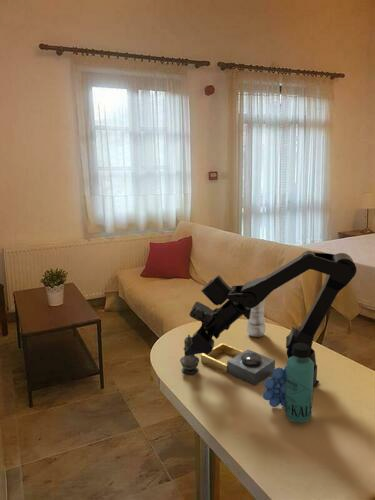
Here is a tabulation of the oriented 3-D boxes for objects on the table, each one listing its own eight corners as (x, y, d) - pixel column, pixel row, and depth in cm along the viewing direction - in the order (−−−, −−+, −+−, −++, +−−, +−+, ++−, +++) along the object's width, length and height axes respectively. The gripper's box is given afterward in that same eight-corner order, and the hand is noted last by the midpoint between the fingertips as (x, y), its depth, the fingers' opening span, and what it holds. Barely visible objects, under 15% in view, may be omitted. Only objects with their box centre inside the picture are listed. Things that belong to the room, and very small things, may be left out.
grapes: (299, 394, 106) (301, 354, 103) (310, 410, 99) (312, 367, 97) (257, 398, 105) (258, 357, 102) (265, 414, 98) (266, 371, 95)
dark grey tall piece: (177, 374, 118) (176, 337, 115) (183, 364, 123) (182, 329, 120) (196, 377, 116) (195, 339, 113) (201, 367, 121) (200, 331, 118)
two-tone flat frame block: (275, 371, 117) (275, 356, 116) (254, 386, 110) (254, 370, 109) (222, 349, 132) (222, 335, 130) (201, 361, 124) (200, 347, 123)
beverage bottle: (290, 408, 100) (293, 336, 96) (316, 418, 96) (320, 343, 92) (279, 421, 96) (281, 346, 91) (305, 433, 91) (309, 355, 87)
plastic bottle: (266, 339, 138) (267, 285, 133) (247, 339, 138) (248, 285, 134) (263, 331, 144) (264, 279, 140) (245, 331, 145) (245, 279, 140)
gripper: (212, 285, 121) (179, 315, 126) (198, 307, 103) (160, 341, 109) (237, 310, 121) (203, 340, 126) (228, 337, 103) (188, 370, 109)
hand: (189, 346), depth 118 cm, fingers open, 9 cm apart
